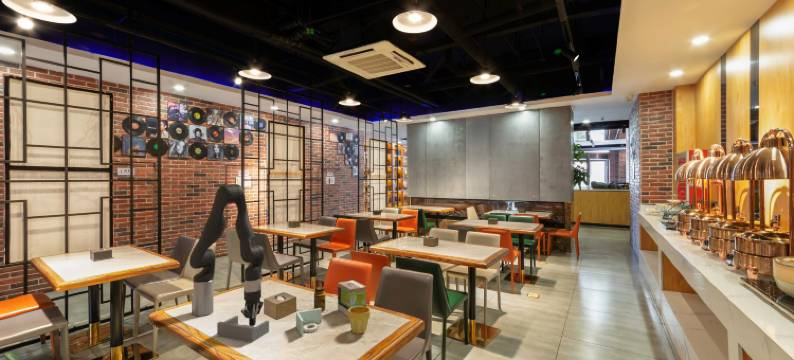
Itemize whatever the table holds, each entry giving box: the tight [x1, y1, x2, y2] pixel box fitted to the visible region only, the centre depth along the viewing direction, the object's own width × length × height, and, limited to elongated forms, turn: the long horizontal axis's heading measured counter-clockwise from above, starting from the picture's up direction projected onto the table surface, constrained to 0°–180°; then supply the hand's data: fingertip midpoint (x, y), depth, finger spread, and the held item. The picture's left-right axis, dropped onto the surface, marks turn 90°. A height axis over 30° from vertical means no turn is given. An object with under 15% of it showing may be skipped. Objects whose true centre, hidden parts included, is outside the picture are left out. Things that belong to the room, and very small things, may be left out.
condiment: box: [307, 286, 328, 313], centre depth 186 cm, size 7×8×12 cm
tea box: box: [337, 280, 367, 317], centre depth 184 cm, size 15×10×15 cm
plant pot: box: [347, 306, 371, 335], centre depth 161 cm, size 10×10×10 cm
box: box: [216, 315, 270, 343], centre depth 157 cm, size 19×11×6 cm, turn 73°
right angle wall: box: [295, 308, 323, 337], centre depth 163 cm, size 12×12×8 cm
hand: (252, 325), depth 163 cm, fingers closed
